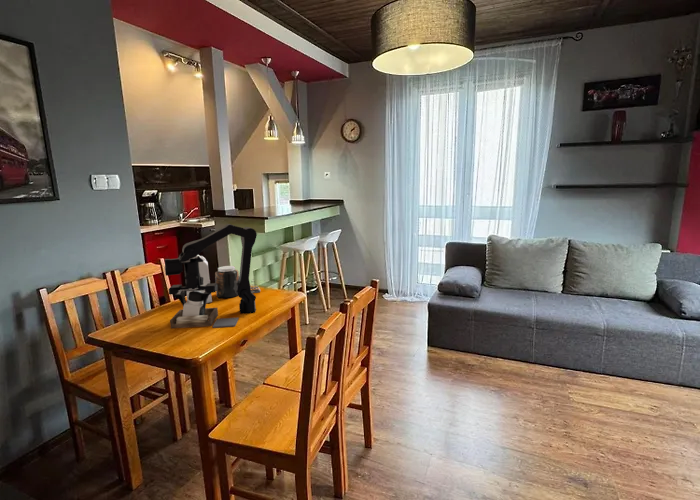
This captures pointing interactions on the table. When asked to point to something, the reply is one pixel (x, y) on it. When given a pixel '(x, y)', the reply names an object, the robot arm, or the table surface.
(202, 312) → the medicine bottle
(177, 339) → the table surface
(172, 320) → the walnut rack
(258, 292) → the house of cards
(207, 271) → the milk
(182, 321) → the offcut stack
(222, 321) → the rubber mat
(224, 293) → the jar
